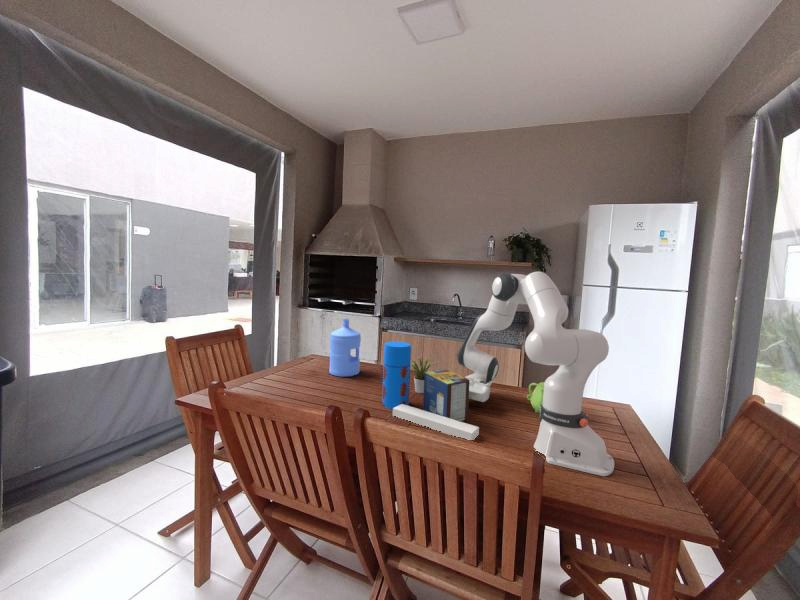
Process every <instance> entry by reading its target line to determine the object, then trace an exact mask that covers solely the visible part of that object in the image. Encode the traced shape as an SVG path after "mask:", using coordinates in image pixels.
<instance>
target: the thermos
mask: <svg viewBox="0 0 800 600" xmlns="http://www.w3.org/2000/svg"><path fill="white" fill-rule="evenodd" d="M411 359H412V345H411V343H408V342H404V341H388V342H385V343H384V347H383V368H382V370H383V373H382V406H383V407H384V408H386V409H388V408H389V409H390V410H393V408H394V407H396V406H399V405H401V404H404V405H408V406H409V400H410V386H411V385H410V382H411V365H412V364H411V362H412V360H411ZM389 409H388V410H389Z"/></svg>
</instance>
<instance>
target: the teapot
mask: <svg viewBox="0 0 800 600" xmlns="http://www.w3.org/2000/svg"><path fill="white" fill-rule="evenodd" d="M544 383H545V381H541V382H539V383H536V382H531V383H530V384H529V385H528V392H529V394H527V395H526V399H527V401H530V404H531V406H532V408H533V409H534V411H535V412H534V413H536V412H537V414H540V408H541V405H542V404H543V392H544ZM533 386H535V388H534V390H533V391H532V387H533Z"/></svg>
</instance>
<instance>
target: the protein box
mask: <svg viewBox="0 0 800 600" xmlns="http://www.w3.org/2000/svg"><path fill="white" fill-rule="evenodd" d="M469 383H470V380H469V379H466V378H464V376H461V375H459V374H457V373H456V372H452V371H450V370H449V369H446V368H445V369H438V370H429V371H427V372H425V374H424V393H423V403H422V405H423V406H422V410H424V411H427V412H431V413H434V414H437V415H440V416H444V417H447V418H450V419H454V420H457V421H460V422H465V421H468V420H469V404H470V403H469V401H470V399H469Z"/></svg>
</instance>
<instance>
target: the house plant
mask: <svg viewBox="0 0 800 600" xmlns="http://www.w3.org/2000/svg"><path fill="white" fill-rule="evenodd" d="M416 357H417V359H418V360H419V365H418V364H417V362H416V361H415V360H414V359H413V358H411V364H410V365H411V366H412V368H411V371H413V373H412V375H416V376H413V380H414V391H415V392H416V393H418V394H424V374H425V372H428V370H429V368H430V367H432V365H434V364H435V363H436V362H437V363H438V360H435V361H433V360H430V359H431V358H432V356H430V357H428V358H427V359H426V361H425V362H424V360H423V358H422V357H421V358H420V357H419V356H416ZM419 366H420V368H419ZM414 372H415V373H414Z"/></svg>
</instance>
